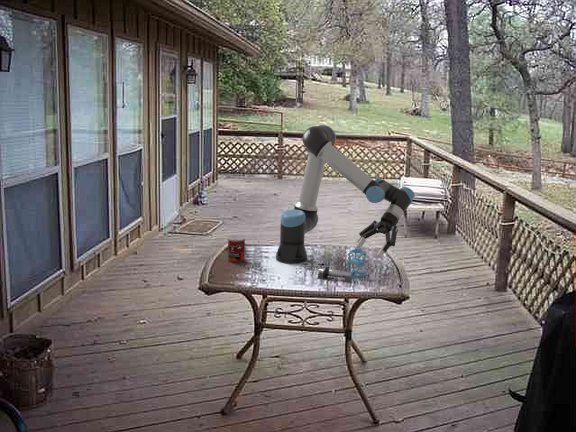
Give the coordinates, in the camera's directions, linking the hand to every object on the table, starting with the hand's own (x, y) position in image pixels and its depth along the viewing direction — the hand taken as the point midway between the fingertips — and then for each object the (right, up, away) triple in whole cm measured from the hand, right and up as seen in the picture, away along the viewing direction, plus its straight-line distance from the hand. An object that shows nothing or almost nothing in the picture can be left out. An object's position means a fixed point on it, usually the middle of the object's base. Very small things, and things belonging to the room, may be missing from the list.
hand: (367, 253), depth 278 cm
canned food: (-60, -5, +17) cm, 63 cm away
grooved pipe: (-15, -11, -6) cm, 19 cm away
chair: (-5, -10, 0) cm, 12 cm away
